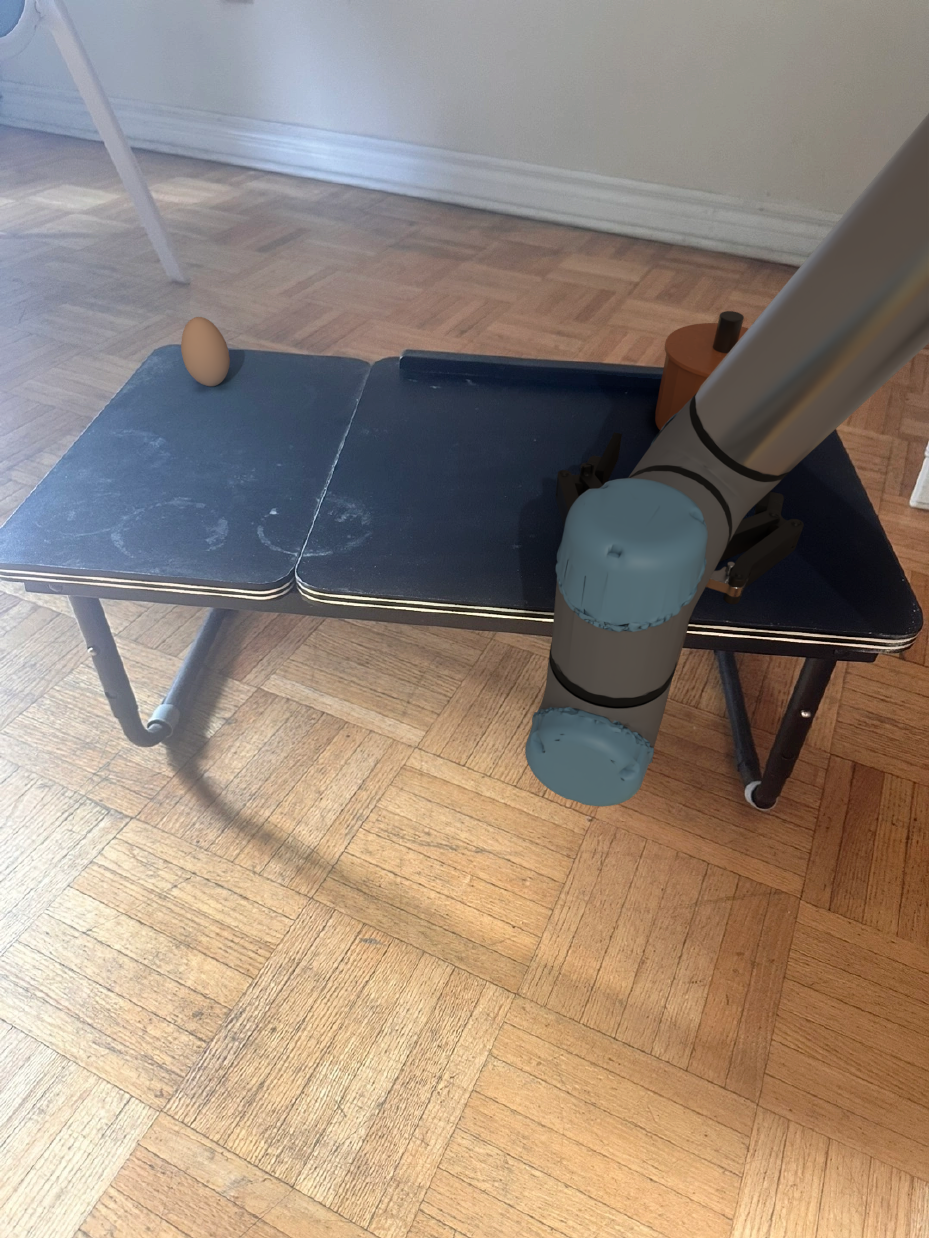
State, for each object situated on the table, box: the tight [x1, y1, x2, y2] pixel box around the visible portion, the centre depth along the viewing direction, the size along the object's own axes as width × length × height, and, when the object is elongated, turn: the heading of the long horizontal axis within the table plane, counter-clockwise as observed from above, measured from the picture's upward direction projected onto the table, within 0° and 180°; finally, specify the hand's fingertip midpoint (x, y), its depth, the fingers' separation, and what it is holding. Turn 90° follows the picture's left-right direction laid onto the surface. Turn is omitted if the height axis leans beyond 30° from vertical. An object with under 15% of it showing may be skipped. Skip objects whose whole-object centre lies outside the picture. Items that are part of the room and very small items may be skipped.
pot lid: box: [664, 310, 750, 377], centre depth 85 cm, size 12×12×5 cm
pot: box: [654, 353, 708, 431], centre depth 89 cm, size 11×11×8 cm
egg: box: [180, 316, 231, 387], centre depth 96 cm, size 5×5×8 cm
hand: (690, 460), depth 73 cm, fingers open, 13 cm apart
